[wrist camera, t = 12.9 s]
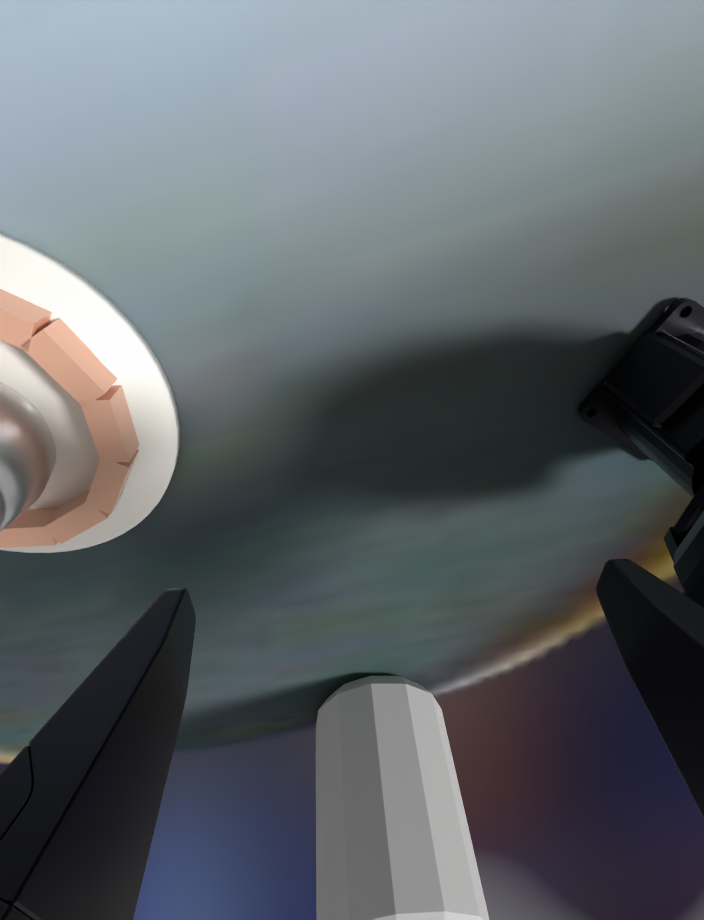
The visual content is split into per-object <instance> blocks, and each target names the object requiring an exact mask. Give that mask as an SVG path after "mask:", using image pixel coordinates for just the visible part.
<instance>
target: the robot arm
mask: <svg viewBox="0 0 704 920" xmlns="http://www.w3.org/2000/svg"><path fill="white" fill-rule="evenodd" d="M684 307H686V310H685V311H684V312H683V313H682V314H681V315H680V312H681V310H682V309H683V308H684ZM591 408H593V409H592V411H591V412H590V413H587V411H588V410H589V409H591ZM578 415H579V416H580V417H581V418H582V419H583V420H584V421H586V422H587V423H589V424H591V425H593V426H594V427H596V428H598V429H599V430H601V431H603V432H604V433H606V434H608V435H610V436H611V437H613V438H615V439H616V440H618V441H620V442H621V443H623V444H625V445H627V446H628V447H630V448H632V449H633V450H635V451H637V452H638V453H640V454H642V455H644V456H645V457H647V458H649V459H650V460H652V461H654V462H655V463H656V464H657V465H658V466H659V467H660V468H661V469H663V470H664V471H665V472H666V473H667V474H668V475H669V476H670V477H671V478H672V479H673V480H674V481H676V482H677V483H678V484H679V485H680V486H681V487H682V488H683V489H684V490H685V491H686V492H687V493H688V494H690V495H691V496H692V497H693V498H692V500H691V501H690V503H689V504H688V506H687V507H686V509H685V510H684V512H683V513H682V515H681V516H680V518H679V519H678V521H677V523H676V524H675V526H674V527H670V528H669V530H668V531H667V533H666V534H665V536H664V540H665V543H666V545H667V548H668V550H669V552H670V555H671V557H672V560H673V562H674V569H675V571H676V574H677V576H678V578H679V580H680V582H681V585H682V587H683V588H684V591H683V592H682V593H681V592H679V591H678V590H676V589H675V588H673V587H672V586H670V585H668V584H667V583H665V582H664V581H662V580H661V579H659V578H657V577H656V576H654V575H653V574H651V573H650V572H648V571H647V570H645V569H643V568H642V567H640V566H639V565H637V564H636V563H634V562H632V561H631V560H628V559H611V560H608V561H607V562H606V563H605V565H604V568H603V570H602V573H601V575H600V578H599V580H598V583H597V587H596V591H597V596H598V599H599V601H600V604H601V606H602V609H603V611H604V614H605V616H606V619H607V622H608V624H609V627H610V629H611V632H612V634H613V637H614V639H615V642H616V644H617V647H618V650H619V652H620V654H621V656H622V659H623V661H624V664H625V666H626V668H627V670H628V672H629V674H630V676H631V677H632V680H633V681H634V683H635V686H636V687H637V689H638V691H639V693H640V695H641V697H642V699H643V701H644V703H645V705H646V707H647V709H648V711H649V713H650V715H651V717H652V719H653V720H654V722H655V724H656V726H657V728H658V730H659V732H660V734H661V736H662V738H663V740H664V742H665V744H666V746H667V748H668V750H669V752H670V754H671V756H672V758H673V759H674V762H675V763H676V765H677V767H678V769H679V771H680V773H681V775H682V777H683V779H684V781H685V783H686V785H687V787H688V789H689V791H690V793H691V795H692V796H693V798H694V800H695V802H696V804H697V806H698V808H699V810H700V812H701V814H702V816H703V818H704V308H703V307H702V306H701V305H699V304H698V303H697V302H695V301H693V300H691V299H688V298H681V299H678V300H676V301H675V302H674V303H673V304H672V305H671V306H670V307H669V308H668V309H667V310H666V312H665V313H664V314H663V315H662V316H661V317H660V318H659V319H658V320H657V321H656V322H655V324H654V325H653V326H652V327H651V328H650V329H649V330H648V331H647V332H646V333H645V335H644V336H643V337H642V338H641V339H640V340H639V341H638V342H637V343H636V344H635V345H634V347H633V348H632V349H631V350H630V351H629V352H628V353H627V354H626V355H625V356H624V358H623V359H622V360H621V361H620V362H619V363H618V364H617V365H616V366H615V367H614V368H613V370H612V371H611V372H610V373H609V374H608V375H607V376H606V377H605V378H604V379H603V381H602V382H601V383H600V384H599V385H598V386H597V387H596V388H595V389H594V390H593V391H592V393H591V394H590V395H589V396H588V397H587V398H586V399H585V400H584V401H583V402H582V404H581V405H580V406H579V408H578ZM195 623H196V617H195V611H194V608H193V605H192V602H191V599H190V595H189V592H188V590H187V589H186V588H173V589H167V590H165V591H164V592H163V593H162V594H161V595H160V596H159V597H158V598H157V600H156V601H155V602H154V603H153V604H152V605H151V606H150V607H149V608H148V610H147V611H146V612H145V613H144V614H143V615H142V616H141V617H140V619H139V620H138V621H137V622H136V623H135V624H134V625H133V626H132V628H131V629H130V630H129V631H128V632H127V633H126V634H125V635H124V637H123V638H122V639H121V640H120V641H119V642H118V643H117V644H116V646H115V647H114V648H113V649H112V650H111V651H110V652H109V653H108V655H107V656H106V657H105V658H104V659H103V660H102V661H101V662H100V663H99V665H98V666H97V667H96V668H95V669H94V670H93V671H92V672H91V674H90V675H89V676H88V677H87V678H86V679H85V680H84V681H83V683H82V684H81V685H80V686H79V687H78V688H77V689H76V690H75V692H74V693H73V694H72V695H71V696H70V697H69V698H68V699H67V701H66V702H65V703H64V704H63V705H62V706H61V707H60V708H59V710H58V711H57V712H56V713H55V714H54V715H53V716H52V717H51V718H50V720H49V721H48V722H47V723H46V724H45V725H44V726H43V727H42V729H41V730H40V731H39V732H38V733H37V734H36V735H35V736H34V738H33V739H32V740H31V741H30V743H29V746H26V747H24V749H23V750H22V751H21V752H20V753H19V754H18V755H17V756H16V758H15V759H14V760H13V761H12V762H11V763H10V764H9V766H8V767H7V768H6V769H5V770H4V771H3V772H2V773H1V774H0V920H133V917H134V913H135V909H136V905H137V901H138V897H139V892H140V888H141V884H142V880H143V876H144V872H145V867H146V863H147V859H148V855H149V851H150V847H151V842H152V838H153V834H154V830H155V826H156V821H157V817H158V813H159V809H160V805H161V801H162V797H163V792H164V788H165V784H166V780H167V776H168V771H169V767H170V763H171V759H172V755H173V751H174V747H175V742H176V738H177V734H178V730H179V726H180V721H181V717H182V713H183V709H184V704H185V700H186V694H187V687H188V680H189V672H190V664H191V656H192V648H193V640H194V632H195Z"/></svg>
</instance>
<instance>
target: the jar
mask: <svg viewBox="0 0 704 920" xmlns="http://www.w3.org/2000/svg"><path fill="white" fill-rule="evenodd" d="M316 871H317V872H316V873H317V874H316V877H317V920H489V917H488V912H487V908H486V903H485V899H484V895H483V890H482V886H481V881H480V877H479V873H478V868H477V864H476V859H475V855H474V851H473V846H472V842H471V838H470V833H469V829H468V824H467V820H466V815H465V811H464V807H463V803H462V798H461V794H460V789H459V785H458V781H457V776H456V772H455V767H454V763H453V758H452V754H451V750H450V745H449V741H448V737H447V732H446V728H445V723H444V719H443V714H442V710H441V708H440V706H439V705H438V703H437V702H436V700H435V699H434V697H433V695H432V694H431V693H430V692H429V691H428V690H426V689H425V688H424V687H423V686H421V685H420V684H419V683H416V682H413V681H411V680H408V679H406V678H403V677H400V676H368V677H364V678H361V679H358V680H355V681H351V682H348V683H345V684H344V685H342V686H341V687H340V688H339V689H338V690H336V691H335V692H334V693H333V694H332V695H330V696H329V697H328V698H327V700H326V701H325V702H324V703H323V705H322V706H321V707H320V709H319V710H318V716H317V723H316Z"/></svg>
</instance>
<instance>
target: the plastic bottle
mask: <svg viewBox="0 0 704 920" xmlns="http://www.w3.org/2000/svg"><path fill="white" fill-rule="evenodd" d="M55 462H56V447H55V444H54V440H53V437H52V434H51V431H50V428H49V426H48V425H47V423H46V421H45V419H44V417H43V416H42V415H41V413H40V412H39V411H38V410H37V408H36V407H35V406H34V405H33V404H32V403H31V402H30V401H29V400H28V399H27V398H25V397H24V396H23V395H21V394H20V393H19V392H17V391H16V390H14V389H13V388H11V387H9V386H7V385H6V384H4V383H2V382H0V531H1V530H3V529H4V528H6V527H7V526H8V525H10V524H11V523H12V522H13V521H14V520H15V519H17V518H18V517H19V516H20V515H21V514H22V513H23V512H25V511H26V510H27V509H28V508H29V507H30V506H31V505H32V504H34V503H35V502H36V501H37V500H38V499H39V497H40V496H41V494H42V493H43V491H44V489H45V487H46V485H47V483H48V481H49V478H50V476H51V474H52V472H53V470H54V466H55Z"/></svg>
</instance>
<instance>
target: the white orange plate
mask: <svg viewBox="0 0 704 920" xmlns="http://www.w3.org/2000/svg"><path fill="white" fill-rule="evenodd" d="M0 382H2V383H4V384H6V385H7V386H9V387H11V388H13V389H14V390H16V391H17V392H19V393H20V394H21V395H23V396H24V397H25V398H27V399H28V400H29V401H30V402H31V403H32V404H33V405H34V406H35V407H36V408H37V410H38V411H39V412H40V413H41V415H42V416H43V417H44V419H45V421H46V423H47V425H48V426H49V428H50V431H51V434H52V437H53V440H54V444H55V447H56V462H55V466H54V470H53V472H52V474H51V476H50V478H49V481H48V483H47V485H46V487H45V489H44V491H43V493H42V494H41V496H40V497H39V499H38V500H37V501H36V502H35V503H34V504H32V505H31V506H30V507H29V508H28V509H27V510H26V511H25V512H23V513H22V514H21V515H20V516H19V517H18V518H17V519H15V520H14V521H13V522H12V523H11V524H10V525H8V526H7V527H6V528H4V529H3V530H1V531H0V550H5V551H15V552H26V553H54V552H64V551H73V550H78V549H83V548H88V547H91V546H95V545H98V544H101V543H104V542H107V541H109V540H111V539H113V538H116V537H118V536H120V535H122V534H124V533H125V532H127V531H128V530H130V529H132V528H133V527H135V526H136V525H137V524H139V523H140V522H141V521H142V520H143V519H144V518H145V517H147V516H148V515H149V514H150V512H151V511H152V510H153V509H154V508H155V506H156V505H157V504H158V503H159V501H160V500H161V498H162V496H163V494H164V492H165V491H166V489H167V487H168V485H169V482H170V480H171V478H172V475H173V472H174V469H175V466H176V463H177V458H178V452H179V446H180V425H179V419H178V412H177V406H176V403H175V400H174V397H173V393H172V390H171V387H170V384H169V382H168V380H167V378H166V376H165V373H164V371H163V369H162V367H161V365H160V363H159V361H158V360H157V358H156V356H155V355H154V353H153V351H152V350H151V348H150V347H149V345H148V343H147V342H146V341H145V339H144V338H143V337H142V335H141V334H140V333H139V332H138V330H137V329H136V328H135V326H134V325H133V324H132V323H131V321H130V320H129V319H128V318H127V317H126V316H125V315H124V314H123V313H122V312H121V311H120V310H119V309H118V308H117V307H116V306H115V304H114V303H113V302H112V301H111V300H110V299H109V298H107V297H106V296H105V295H104V294H103V293H102V292H100V291H99V290H98V289H97V288H96V287H94V286H93V285H92V284H91V283H90V282H89V281H87V280H86V279H85V278H84V277H82V276H81V275H79V274H78V273H76V272H75V271H73V270H72V269H71V268H69V267H68V266H66V265H65V264H63V263H62V262H60V261H59V260H57V259H55V258H54V257H52V256H50V255H48V254H46V253H45V252H43V251H41V250H39V249H37V248H36V247H34V246H32V245H30V244H28V243H26V242H24V241H21V240H19V239H17V238H14V237H12V236H10V235H7V234H5V233H3V232H0Z"/></svg>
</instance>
